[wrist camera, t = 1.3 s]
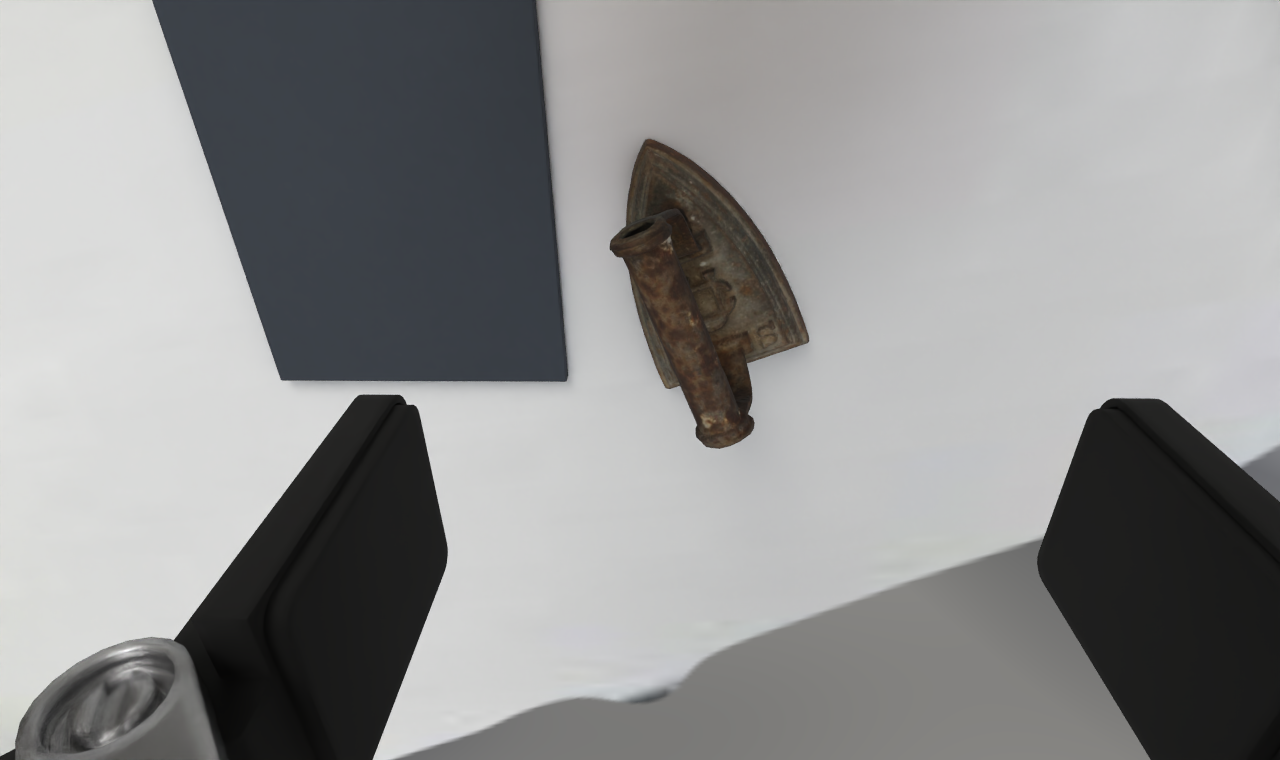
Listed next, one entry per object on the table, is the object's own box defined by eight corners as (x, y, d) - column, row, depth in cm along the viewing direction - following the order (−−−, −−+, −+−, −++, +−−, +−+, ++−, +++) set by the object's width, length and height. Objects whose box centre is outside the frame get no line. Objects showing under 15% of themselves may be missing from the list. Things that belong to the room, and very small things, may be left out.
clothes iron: (674, 391, 35) (625, 490, 25) (586, 169, 32) (495, 192, 23) (813, 349, 32) (814, 443, 23) (732, 106, 29) (697, 103, 20)
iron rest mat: (120, -124, 24) (108, -126, 23) (524, -136, 23) (520, -138, 23) (286, 374, 34) (280, 381, 34) (568, 375, 34) (566, 382, 33)
